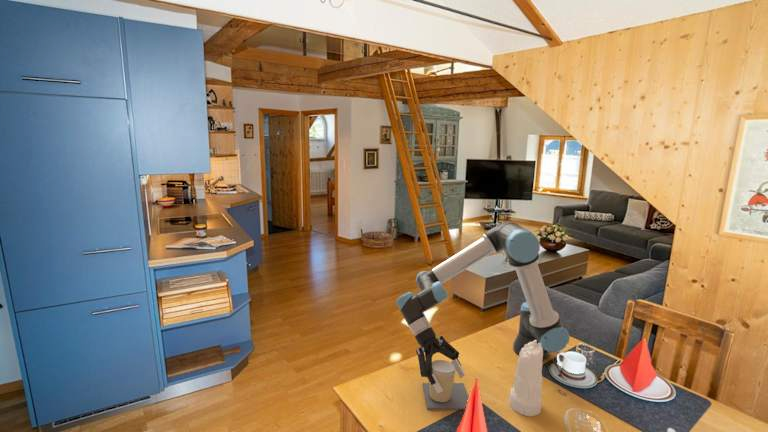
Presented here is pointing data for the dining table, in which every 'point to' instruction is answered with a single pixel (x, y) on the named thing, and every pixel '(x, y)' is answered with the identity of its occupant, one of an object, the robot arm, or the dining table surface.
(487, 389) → the dining table surface
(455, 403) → the charcoal mat
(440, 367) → the coffee cup
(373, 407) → the dining table surface
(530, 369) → the decorative vase
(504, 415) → the dining table surface
